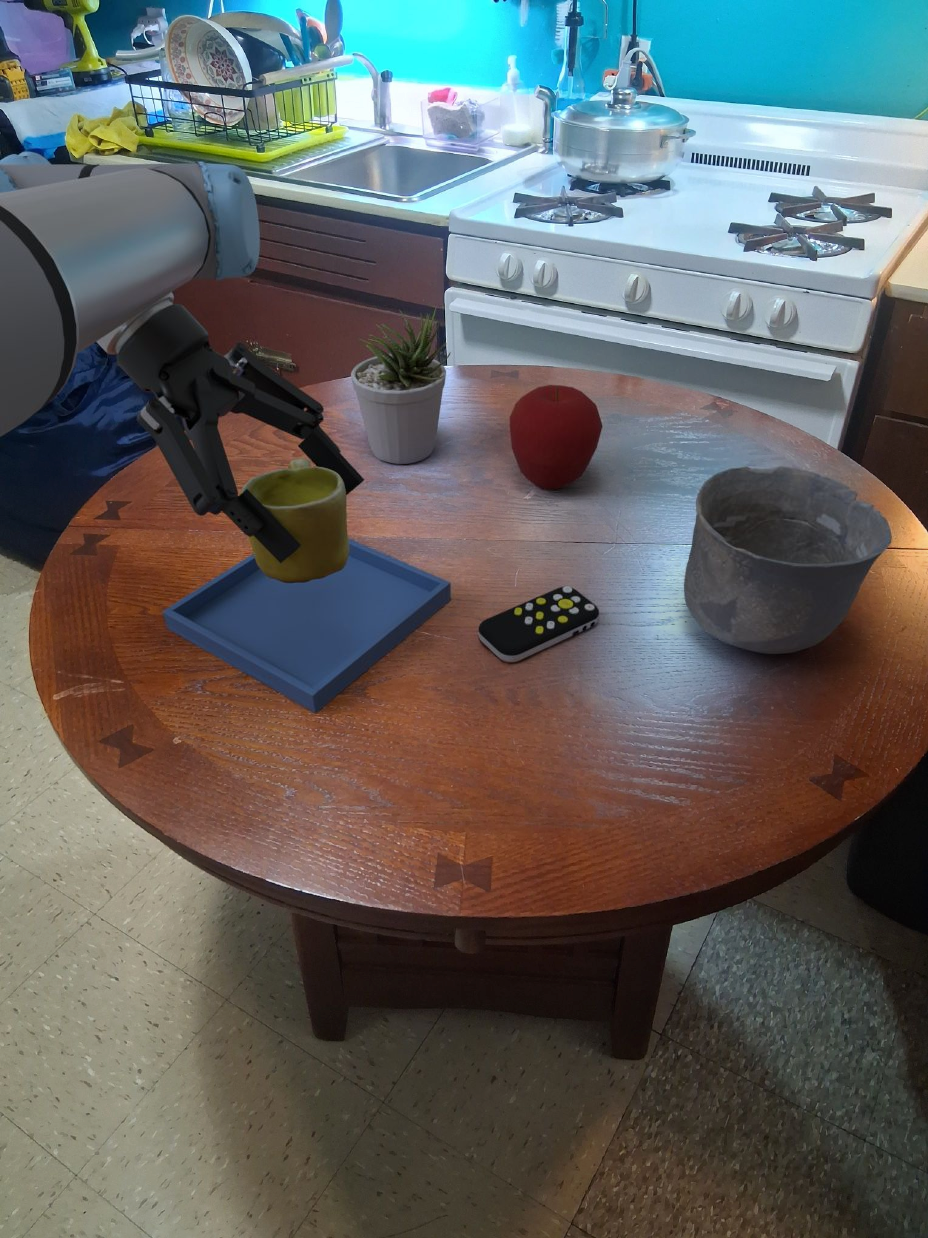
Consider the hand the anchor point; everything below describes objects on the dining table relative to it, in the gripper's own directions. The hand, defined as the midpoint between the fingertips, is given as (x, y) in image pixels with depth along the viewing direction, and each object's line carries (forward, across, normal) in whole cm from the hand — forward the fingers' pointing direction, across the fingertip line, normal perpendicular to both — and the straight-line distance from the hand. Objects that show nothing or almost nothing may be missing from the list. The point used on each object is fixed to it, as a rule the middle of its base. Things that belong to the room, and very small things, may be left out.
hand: (324, 519), depth 80 cm
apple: (+18, -40, -4) cm, 45 cm away
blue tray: (+7, -4, -15) cm, 17 cm away
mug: (+1, 0, -5) cm, 5 cm away
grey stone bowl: (+39, -19, +17) cm, 47 cm away
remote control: (+24, -11, +1) cm, 26 cm away
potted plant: (+3, -41, -20) cm, 45 cm away
